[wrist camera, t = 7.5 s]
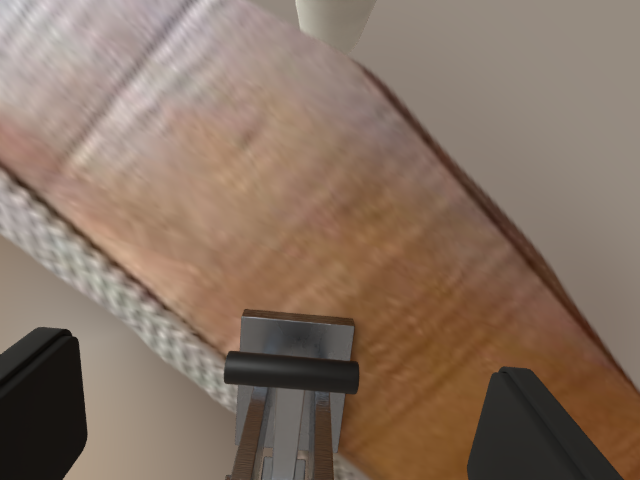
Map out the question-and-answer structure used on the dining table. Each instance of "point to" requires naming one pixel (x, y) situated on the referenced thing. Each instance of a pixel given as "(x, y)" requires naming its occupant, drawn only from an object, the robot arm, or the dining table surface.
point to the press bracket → (319, 407)
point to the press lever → (289, 397)
